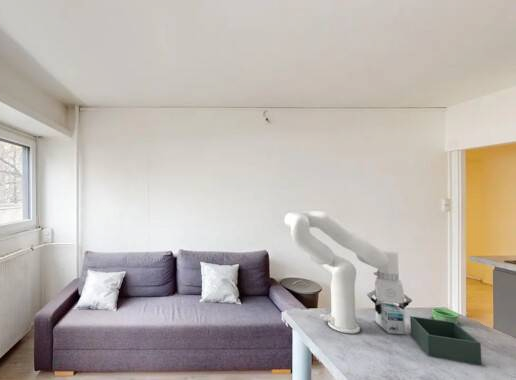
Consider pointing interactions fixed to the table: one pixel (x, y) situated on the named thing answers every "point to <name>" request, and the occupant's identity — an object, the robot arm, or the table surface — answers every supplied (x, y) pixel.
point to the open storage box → (445, 340)
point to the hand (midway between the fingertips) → (389, 314)
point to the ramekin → (445, 315)
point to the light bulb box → (391, 318)
